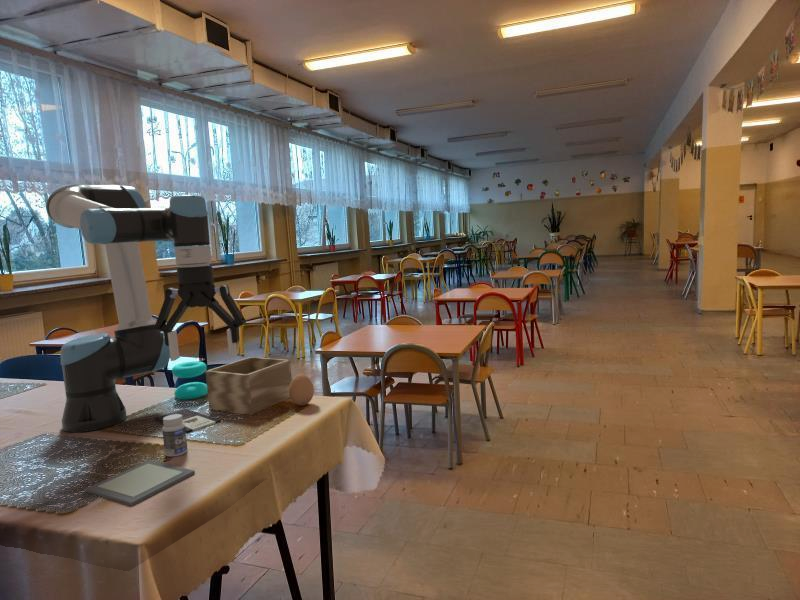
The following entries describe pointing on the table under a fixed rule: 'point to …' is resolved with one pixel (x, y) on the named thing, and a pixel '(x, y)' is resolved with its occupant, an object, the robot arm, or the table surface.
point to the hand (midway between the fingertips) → (204, 358)
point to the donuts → (189, 371)
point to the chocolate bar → (191, 419)
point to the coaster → (140, 482)
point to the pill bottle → (174, 435)
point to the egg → (301, 390)
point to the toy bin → (248, 384)
